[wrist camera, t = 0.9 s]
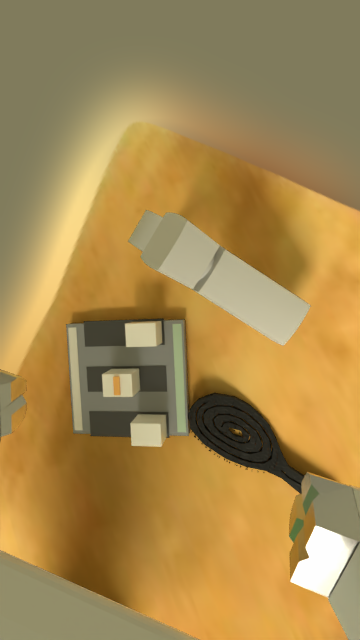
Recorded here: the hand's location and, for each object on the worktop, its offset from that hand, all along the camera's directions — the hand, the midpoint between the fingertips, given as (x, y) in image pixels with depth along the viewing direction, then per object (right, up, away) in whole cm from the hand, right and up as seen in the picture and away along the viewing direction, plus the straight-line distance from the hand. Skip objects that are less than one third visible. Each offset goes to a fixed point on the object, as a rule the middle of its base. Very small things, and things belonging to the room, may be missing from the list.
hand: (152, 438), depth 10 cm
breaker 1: (-7, -5, +39) cm, 40 cm away
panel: (-7, -5, +40) cm, 41 cm away
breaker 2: (-4, +2, +38) cm, 38 cm away
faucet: (+7, +9, +38) cm, 39 cm away
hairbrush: (+13, -15, +38) cm, 43 cm away
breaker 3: (-3, -11, +39) cm, 40 cm away
